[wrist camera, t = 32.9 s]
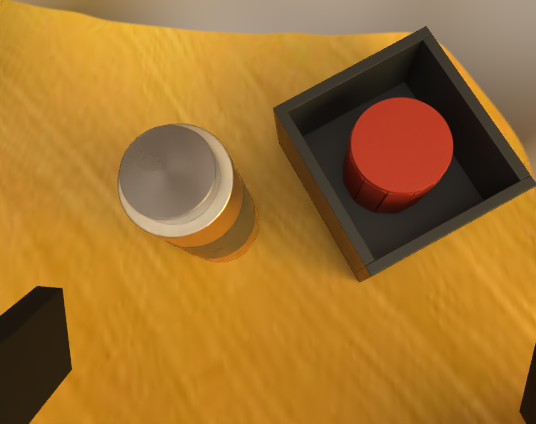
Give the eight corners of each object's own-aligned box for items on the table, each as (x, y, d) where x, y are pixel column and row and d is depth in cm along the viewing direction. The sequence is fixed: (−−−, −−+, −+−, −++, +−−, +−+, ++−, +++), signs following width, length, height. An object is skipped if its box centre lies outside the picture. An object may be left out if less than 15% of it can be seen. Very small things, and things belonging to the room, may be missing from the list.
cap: (328, 157, 40) (332, 125, 33) (400, 119, 40) (419, 80, 33) (369, 228, 38) (383, 210, 31) (443, 188, 38) (473, 162, 31)
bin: (278, 142, 41) (272, 107, 34) (405, 74, 41) (426, 25, 34) (359, 282, 38) (371, 276, 31) (495, 207, 38) (538, 184, 31)
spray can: (168, 208, 41) (86, 148, 26) (236, 171, 41) (195, 90, 26) (202, 277, 39) (136, 257, 24) (273, 238, 39) (251, 194, 24)
